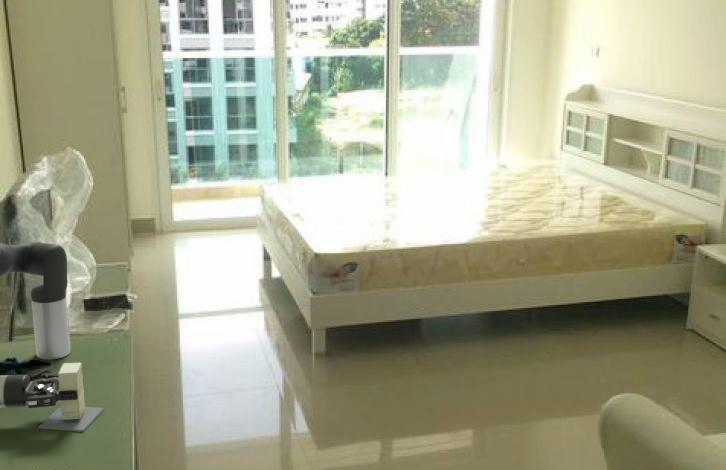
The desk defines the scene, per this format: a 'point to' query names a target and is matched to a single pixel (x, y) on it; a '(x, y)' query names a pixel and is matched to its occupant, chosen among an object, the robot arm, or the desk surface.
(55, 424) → the grey flat square slab
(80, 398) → the skincare box
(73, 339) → the desk surface
